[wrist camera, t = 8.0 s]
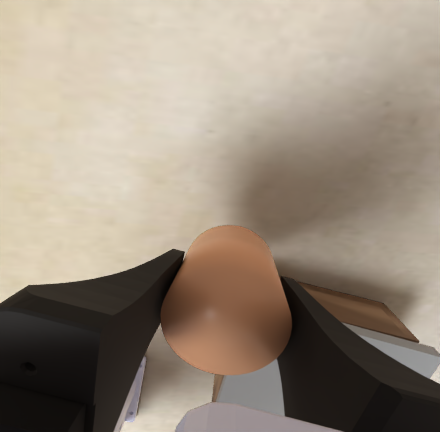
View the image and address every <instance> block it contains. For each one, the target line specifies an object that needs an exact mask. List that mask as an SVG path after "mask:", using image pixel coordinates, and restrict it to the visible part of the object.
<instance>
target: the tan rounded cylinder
mask: <svg viewBox="0 0 440 432" xmlns="http://www.w3.org/2000/svg"><path fill="white" fill-rule="evenodd" d="M160 316H161V327H162V331H163V334H164V336H165V338H166V340H167V342H168V344H169V345H170V347H171V348H172V349H173V350H174V352H175V353H176V354H177V355H178V356H179V357H181V358H182V359H183V360H184V361H186V362H187V363H189V364H190V365H192V366H194V367H196V368H198V369H200V370H203V371H206V372H209V373H214V374H219V375H242V374H247V373H251V372H254V371H257V370H259V369H261V368H263V367H265V366H267V365H269V364H270V363H271V362H273V361H274V360H275V359H276V358H277V357H278V356H279V355H280V354H281V353H282V352H283V350H284V349H285V347H286V345H287V343H288V341H289V338H290V335H291V330H292V318H291V312H290V309H289V306H288V303H287V300H286V296H285V293H284V290H283V287H282V284H281V281H280V278H279V275H278V272H277V269H276V266H275V263H274V260H273V256H272V253H271V251H270V249H269V247H268V246H267V244H266V243H265V241H264V240H263V239H262V238H261V237H260V236H258V235H257V234H256V233H254V232H253V231H251V230H248V229H246V228H243V227H239V226H233V225H223V226H218V227H214V228H211V229H209V230H207V231H205V232H204V233H202V234H201V235H200V236H198V237H197V238H196V239H195V241H194V242H193V243H192V245H191V246H190V248H189V250H188V252H187V254H186V256H185V258H184V260H183V262H182V264H181V266H180V268H179V270H178V272H177V274H176V276H175V278H174V280H173V282H172V284H171V286H170V288H169V290H168V292H167V294H166V296H165V299H164V301H163V304H162V307H161V314H160Z"/></svg>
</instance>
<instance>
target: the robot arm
mask: <svg viewBox="0 0 440 432" xmlns="http://www.w3.org/2000/svg"><path fill="white" fill-rule="evenodd" d="M184 253H185V252H184V251H180V250H176V249H172V250H170V251H168V252H166V253H164V254H163V255H161V256H159V257H157V258H155V259H153V260H151V261H149V262H146V263H144V264H142V265H139V266H137V267H135V268H132V269H129V270H126V271H123V272H120V273H117V274H113V275H109V276H104V277H100V278H95V279H90V280H84V281H77V282H69V283H59V284H43V285H28V286H27V287H25V288H23V289H22V290H20V291H19V292H17V293H16V294H14V295H12V296H11V297H9V298H8V299H6V300H5V301H3V302H2V303H0V432H120V431H121V428H122V426H123V424H124V421H128V422H133V421H134V420H135V418H136V414H137V408H138V403H139V397H140V392H141V387H142V381H143V376H144V370H145V365H146V357H145V356H144V355H145V352H146V350H147V348H148V346H149V344H150V342H151V340H152V338H153V336H154V334H155V332H156V330H157V328H158V326H159V325H160V323H161V316H160V314H161V307H162V304H163V301H164V299H165V296H166V294H167V292H168V290H169V288H170V286H171V284H172V282H173V280H174V278H175V276H176V274H177V272H178V270H179V268H180V266H181V264H182V262H183V258H184ZM280 281H281V284H282V287H283V290H284V293H285V296H286V300H287V303H288V306H289V309H290V312H291V318H292V330H291V335H290V338H289V341H288V343H287V345H286V347H285V349H284V350H283V352H282V353H281V354H280V355H279V356H278V357H277V362H278V367H279V371H280V377H281V383H282V393H283V402H284V413H285V416H281V415H277V414H273V413H269V412H265V411H262V410H258V409H254V408H250V407H246V406H242V405H238V404H233V403H217V402H210V403H208V404H205V405H202V406H200V407H197V408H194V409H192V410H190V411H188V412H187V413H186V415H185V416H184V417H183V419H182V420H181V421H180V423H179V424H178V425H177V427H176V430H175V432H440V384H439V383H437V382H435V381H433V380H431V379H429V378H427V377H425V376H423V375H421V374H419V373H418V372H416V371H414V370H412V369H411V368H409V367H407V366H405V365H404V364H402V363H400V362H398V361H397V360H395V359H393V358H392V357H390V356H388V355H387V354H385V353H384V352H382V351H381V350H379V349H378V348H376V347H374V346H373V345H371V344H370V343H368V342H367V341H366V340H364V339H363V338H361V337H360V336H358V335H357V334H356V333H354V332H353V331H352V330H350V329H349V328H348V327H346V326H345V325H344V324H343V323H341V322H340V321H339V320H338V319H337V318H335V317H334V316H333V315H332V314H331V313H330V312H329V311H327V310H326V309H325V308H324V307H323V306H322V305H321V304H320V303H319V302H318V301H317V300H315V299H314V298H313V297H312V296H311V295H310V294H309V293H308V292H307V291H306V290H305V289H304V288H303V287H302V286H301V285H300V284H299V283H297V282H296V281H295V280H294V279H290V278H286V277H283V276H281V279H280Z"/></svg>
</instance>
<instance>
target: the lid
mask: <svg viewBox="0 0 440 432" xmlns="http://www.w3.org/2000/svg"><path fill="white" fill-rule="evenodd" d="M341 323H342V322H341ZM343 324H344V325H345V326H346V327H348V328H349V329H350V330H352V331H353V332H354V333H356V334H357V335H358V336H360V337H361V338H363V339H364V340H366V341H367V342H368V343H370V344H371V345H373V346H374V347H376V348H378V349H379V350H381V351H382V352H384V353H385V354H387V355H388V356H390V357H392V358H393V359H395V360H397V361H398V362H400V363H402V364H404V365H405V366H407V367H409V368H411V369H412V370H414V371H416V372H418V373H419V374H421V375H423V376H425V377H427V378H429V379H430V377H431V376H432V374H433V373H434V372H435V370H436V369H437V367H438V366H439V364H440V354H439V353H438V352H437V351H436V350H435V348H434V347H430V346H426V345H423V344H419V343H415V342H412V341H408V340H404V339H401V338H397V337H393V336H390V335H386V334H382V333H379V332H375V331H371V330H368V329H364V328H360V327H357V326H353V325H349V324H346V323H343ZM216 402H217V403H233V404H238V405H242V406H246V407H250V408H254V409H258V410H262V411H265V412H269V413H273V414H277V415H281V416H285V413H284V402H283V393H282V383H281V377H280V371H279V367H278V362H277V358H276V359H275V360H274V361H273V362H271V363H270V364H269V365H267V366H265V367H263V368H261V369H259V370H257V371H254V372H251V373H247V374H242V375H224V377H223V380H222V384H221V387H220V390H219V393H218V396H217V399H216Z"/></svg>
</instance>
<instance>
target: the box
mask: <svg viewBox="0 0 440 432" xmlns="http://www.w3.org/2000/svg"><path fill="white" fill-rule="evenodd" d="M279 278H280V279H281V277H279ZM296 282H297V281H296ZM297 283H299V284H300V285H301V286H302V287H303V288H304V289H305V290H306V291H307V292H308V293H309V294H310V295H311V296H312V297H313V298H314V299H315V300H317V301H318V302H319V303H320V304H321V305H322V306H323V307H324V308H325V309H326V310H327V311H329V312H330V313H331V314H332V315H333V316H334V317H335V318H337V319H338V320H339V321H340V322H342V323H346V324H349V325H353V326H357V327H360V328H364V329H368V330H371V331H375V332H379V333H382V334H386V335H390V336H393V337H397V338H401V339H404V340H408V341H412V342H415V343H419V340H418V339H417V338H416V337H415V336H414V335H413V334H412V333H411V332H410V331H409V330H408V329H407V328H406V326H405V325H404V324H403V323H402V322H401V321H400V320H399V319H398V318H397V317H396V316H395V315H394V314H393V313H392V312H391V311H390V310H389V308H388V307H387V306H386V305H385V304H384V303H380V302H376V301H372V300H368V299H364V298H360V297H356V296H352V295H348V294H345V293H341V292H337V291H333V290H329V289H325V288H321V287H317V286H313V285H309V284H305V283H301V282H297ZM223 377H224V375H219V374H215V378H214V387H213V396H212V402H216V399H217V396H218V393H219V390H220V387H221V384H222V380H223Z"/></svg>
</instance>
